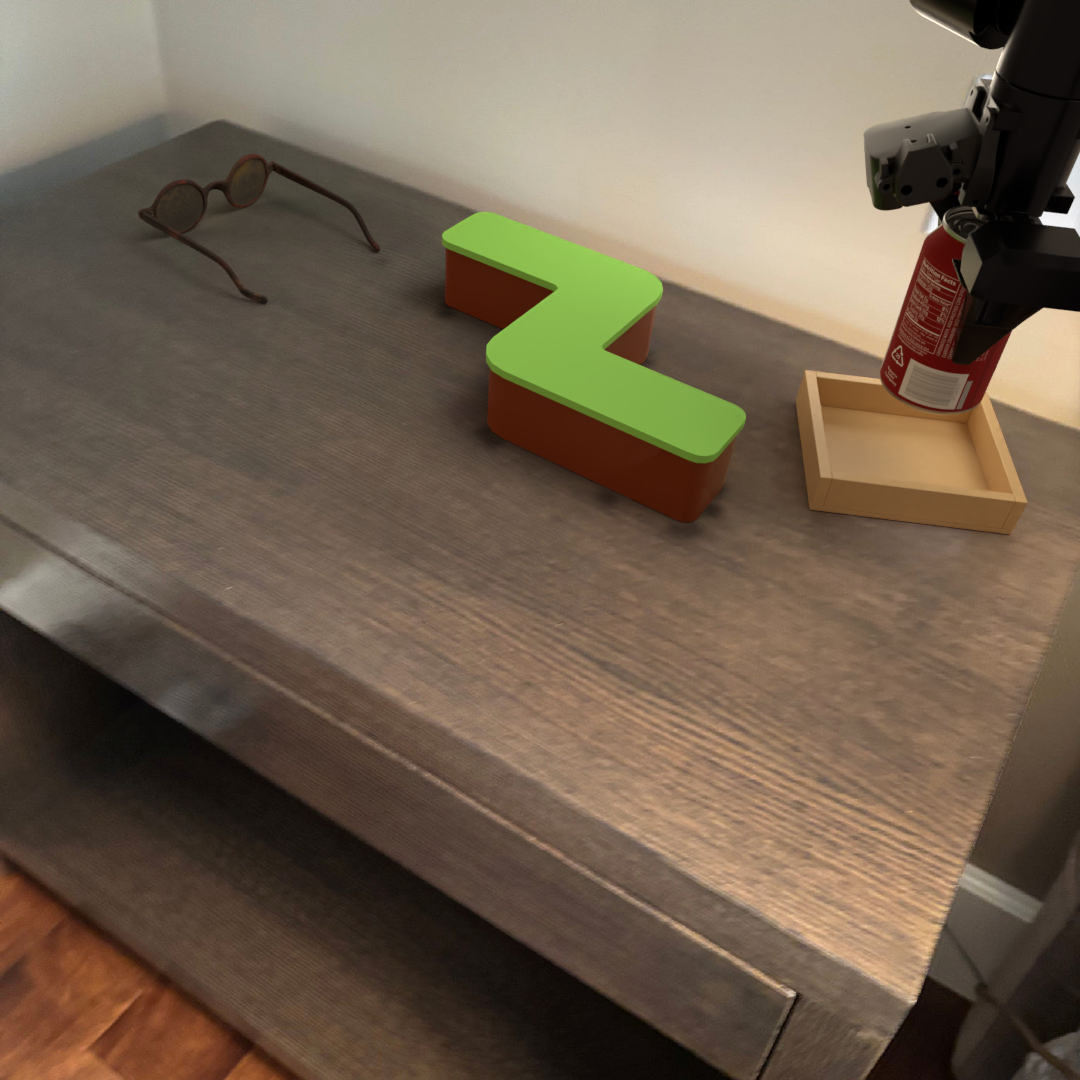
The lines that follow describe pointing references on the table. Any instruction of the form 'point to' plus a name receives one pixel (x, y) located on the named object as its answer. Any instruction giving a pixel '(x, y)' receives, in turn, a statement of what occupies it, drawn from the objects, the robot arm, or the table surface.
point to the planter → (586, 366)
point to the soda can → (937, 329)
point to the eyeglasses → (242, 187)
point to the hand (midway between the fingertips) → (949, 332)
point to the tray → (904, 458)
